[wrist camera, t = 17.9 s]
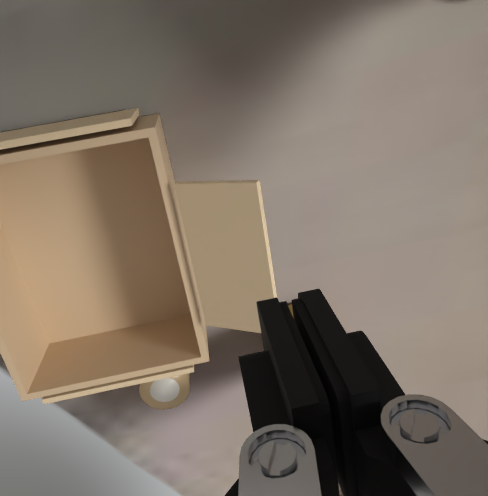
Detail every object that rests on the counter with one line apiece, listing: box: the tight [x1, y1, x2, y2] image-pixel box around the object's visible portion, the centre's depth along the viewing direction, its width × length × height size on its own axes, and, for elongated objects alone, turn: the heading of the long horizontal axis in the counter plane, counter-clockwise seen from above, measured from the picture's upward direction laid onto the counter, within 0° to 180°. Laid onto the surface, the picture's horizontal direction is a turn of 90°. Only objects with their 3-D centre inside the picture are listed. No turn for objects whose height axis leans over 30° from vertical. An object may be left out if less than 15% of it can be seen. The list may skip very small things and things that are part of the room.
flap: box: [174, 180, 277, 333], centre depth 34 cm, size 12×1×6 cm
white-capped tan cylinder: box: [139, 373, 190, 409], centre depth 46 cm, size 5×5×5 cm
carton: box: [0, 108, 209, 404], centre depth 39 cm, size 22×16×8 cm
